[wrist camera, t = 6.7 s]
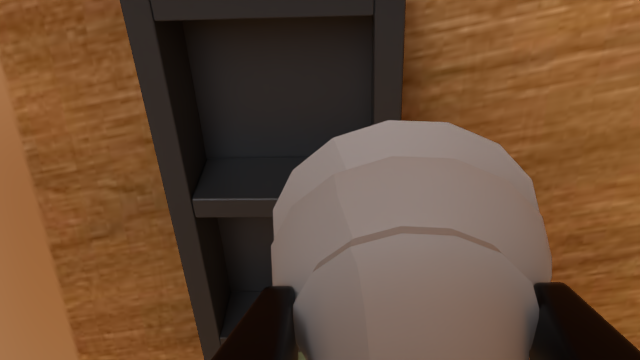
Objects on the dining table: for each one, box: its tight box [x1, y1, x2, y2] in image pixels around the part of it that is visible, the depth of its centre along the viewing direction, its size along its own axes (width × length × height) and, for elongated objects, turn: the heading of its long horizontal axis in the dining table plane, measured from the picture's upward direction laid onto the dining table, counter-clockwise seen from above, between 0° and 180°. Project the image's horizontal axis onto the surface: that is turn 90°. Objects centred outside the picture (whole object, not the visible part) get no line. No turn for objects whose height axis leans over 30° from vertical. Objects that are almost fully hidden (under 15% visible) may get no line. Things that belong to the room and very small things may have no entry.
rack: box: [120, 0, 406, 360], centre depth 22 cm, size 7×21×3 cm, turn 2°
